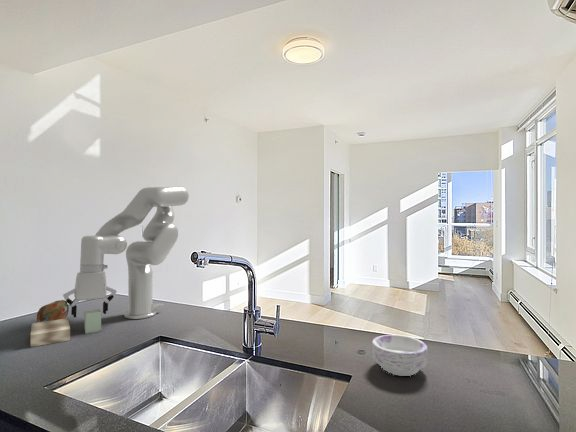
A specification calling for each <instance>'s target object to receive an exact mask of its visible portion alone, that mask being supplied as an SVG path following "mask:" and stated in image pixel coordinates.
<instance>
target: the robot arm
mask: <svg viewBox="0 0 576 432" xmlns="http://www.w3.org/2000/svg"><path fill="white" fill-rule="evenodd" d="M189 196H190V195H189V191H188V190H187V189H186V188H185V187H184V186H183V187H182V186H164V187H163V186H155V187H154V186H153V187H152V186H149V187H143V188H141V189H140V190H139V191H138V192H137V194H136V195H135V196H134V197H133V198H132V200H131V201H130V202H129V204H128V205H127V206H126V207H125V208H124V209H123V211H121V212H120V213H118V214H117V215H115V216H114V217H112V218H111V219H109V220H107V221H106V222H105V223H104V224H103V225H102V226H101V227H100V228H99V230H98V231H97V232H96V234H94V235H85V236H84V235H83V236H82V237H81V240H80V242H81V243H80V265H79V271H78V272H77V274H76V277H75V278H76V279H75V284H74V288H73V289H71V290H70V291H67V292H65V293H63V294H62V296H63V298H64V300H65V301H66V302H67V303H68V305H69V306H70V307H71V316H73V318H77V304H79V302H80V301H82V302H83V301H92V300H93V301H95V300H103V302H102V314H104V315H106V314H107V312H109V303H110V302H111V301H112V300H113V298H114V297H115V295H116V294H117V290H116V289H114V288H111V287H110V286H107V276H106V272H105V270H106V269H108V264H104V258H105V257H104V255H120V254H122V253H124V252H125V258H126V263H127V268H128V269H127V271H128V279H127V280H128V282H127V283H128V284H127V285H128V288H127V289H128V290H127V292H128V295H127V296H128V297H127V299H128V300H127V303H128V306H127V307H128V308H127V310H126V312H124V314H123V315H124V318H126V319H129V320H140V319H147V318H151V317H153V316H155V315H156V314H157V310H158V309H164V307H165V304H164V303H159V302H157V303H154V302H153V278H154V277H153V270H152V266H158V265H161V264H162V263H163V262H164V261H165V260H166V258H167V256H168V255H169V253H170V252H171V251H172V249H173V247H174V246H175V245H176V242H177V240H178V236H179V230H178V227H177V226H176V225H175V224H174V223H173V222H174V220H175V212H174V208H173V207H177V206H183V205H185V204H186V203H188V200H189V198H190V197H189ZM153 208H156V211H155V213H154V215H153V217H152V218H151V220H150V221H149V222H148V224H147V225H146V227H145V228H144V230H143V232H142V238H143V240H144V241H142V240H139V241H132V242H131V243H130V244H129V245H128V242H127V240H126V239H125V237H123V236H121V235H119V234H121V233H122V232H124V231H126V230H129V229H131V228H135V227H136V226H138V225H140V224H142V223H143V221H144V220H145V218H146V217H147V215H148V214H149V213H150V212H151V211H152V210H153ZM107 292H110V295H109V296H108V297H106V296H107ZM71 295H74V299H73V300H72V299H71V298H70V297H69V296H71Z"/></svg>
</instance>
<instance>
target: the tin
mask: <svg viewBox="0 0 576 432" xmlns="http://www.w3.org/2000/svg"><path fill="white" fill-rule="evenodd" d="M68 314H69V304H68V303H67V302H66V300H65V299H61V300H56V301H53V302H50V303H48V304H45V305H43V306H41V307H40V308H39V309H38V311H37V314H36V323H38V322H45V321H52V320H59V319H65V318H67V317H68Z"/></svg>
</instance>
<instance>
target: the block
mask: <svg viewBox="0 0 576 432" xmlns="http://www.w3.org/2000/svg"><path fill="white" fill-rule="evenodd" d="M83 315H84V317H83V318H84V323H83V325H84V328H83V329H84V333H85V334H92V333H97V332H101V331H102V312H101V310H100V308H98V309H91V310H84V312H83Z"/></svg>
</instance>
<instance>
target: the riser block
mask: <svg viewBox="0 0 576 432" xmlns="http://www.w3.org/2000/svg"><path fill="white" fill-rule="evenodd" d="M68 341H71V326H70V321H69V318H67V317H66V318H65V319H59V320H52V321H45V322H38V323H37V322H33V323H31V327H30V348H34V347H40V346H45V345H51V344H58V343H61V342H68Z"/></svg>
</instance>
